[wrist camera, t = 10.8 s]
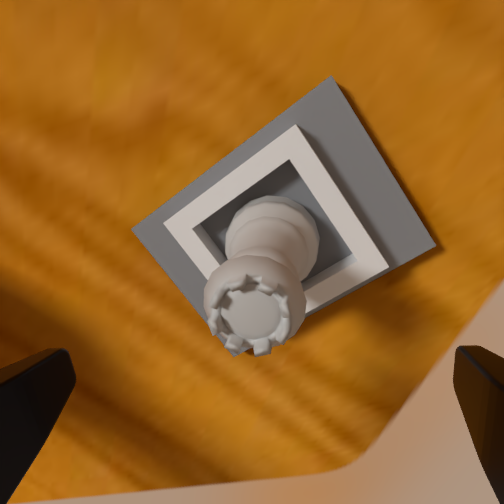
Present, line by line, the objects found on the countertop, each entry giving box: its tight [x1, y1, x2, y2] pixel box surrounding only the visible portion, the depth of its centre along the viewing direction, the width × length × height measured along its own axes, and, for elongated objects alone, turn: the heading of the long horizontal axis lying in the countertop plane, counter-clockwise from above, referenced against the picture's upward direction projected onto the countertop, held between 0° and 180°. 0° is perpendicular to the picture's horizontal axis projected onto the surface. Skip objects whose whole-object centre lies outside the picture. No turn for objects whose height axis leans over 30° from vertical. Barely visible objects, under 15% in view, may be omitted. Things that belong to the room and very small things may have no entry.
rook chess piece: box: [204, 195, 320, 357], centre depth 14 cm, size 4×4×8 cm
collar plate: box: [131, 75, 436, 357], centre depth 18 cm, size 12×9×2 cm
